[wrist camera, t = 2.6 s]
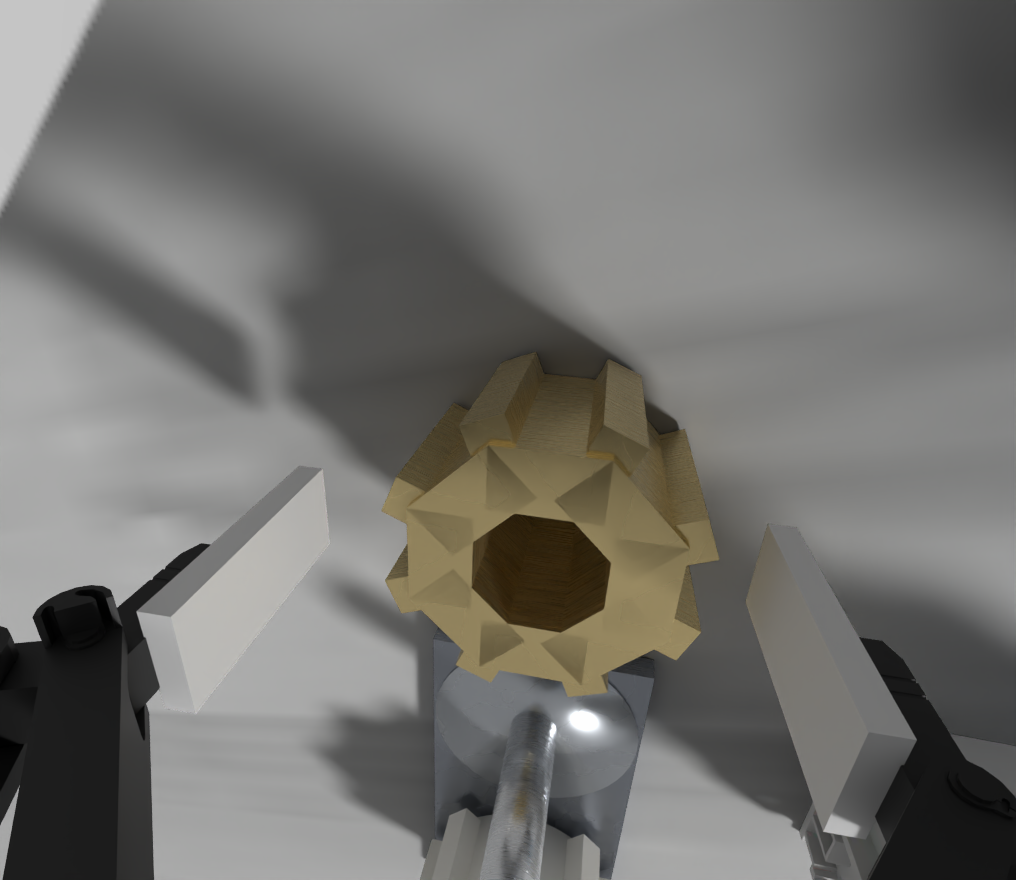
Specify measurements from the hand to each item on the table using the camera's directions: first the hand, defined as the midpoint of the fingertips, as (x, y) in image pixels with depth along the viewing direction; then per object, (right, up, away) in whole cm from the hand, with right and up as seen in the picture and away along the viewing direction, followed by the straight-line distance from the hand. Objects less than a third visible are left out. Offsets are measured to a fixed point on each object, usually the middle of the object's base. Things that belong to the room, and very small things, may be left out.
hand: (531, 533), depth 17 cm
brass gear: (+1, +2, +3) cm, 4 cm away
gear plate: (0, -14, +11) cm, 17 cm away
